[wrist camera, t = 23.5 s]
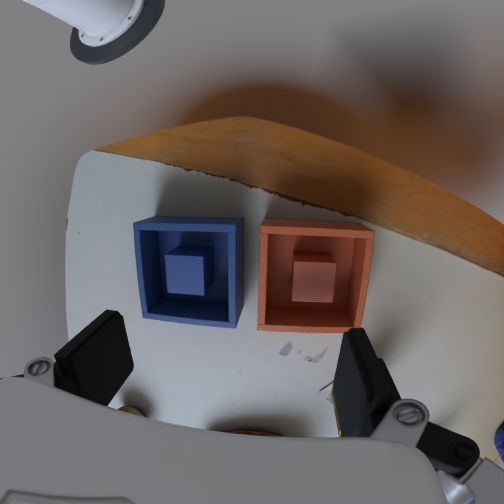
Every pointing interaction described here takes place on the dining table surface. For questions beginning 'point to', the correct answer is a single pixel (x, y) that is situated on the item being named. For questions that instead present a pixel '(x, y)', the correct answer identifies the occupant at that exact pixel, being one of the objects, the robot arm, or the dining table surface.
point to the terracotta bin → (280, 271)
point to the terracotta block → (313, 276)
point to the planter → (500, 441)
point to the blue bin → (225, 269)
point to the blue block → (189, 270)
